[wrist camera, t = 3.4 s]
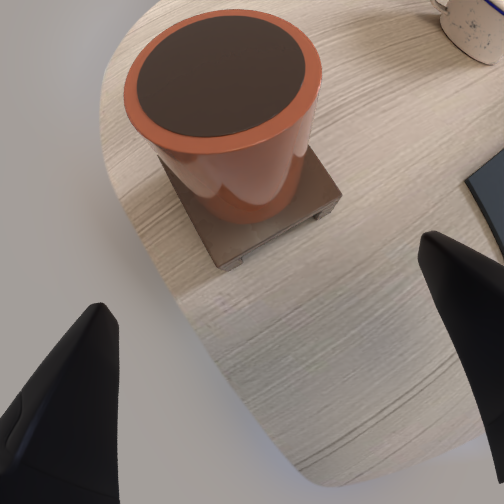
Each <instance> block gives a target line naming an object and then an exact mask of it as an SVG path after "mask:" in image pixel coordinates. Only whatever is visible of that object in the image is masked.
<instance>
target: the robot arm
mask: <svg viewBox="0 0 504 504" xmlns="http://www.w3.org/2000/svg"><path fill="white" fill-rule="evenodd" d="M418 263H419V266H420V268H421V270H422V273H423V275H424V278H425V280H426V283H427V285H428V288H429V290H430V293H431V295H432V298H433V300H434V303H435V305H436V308H437V310H438V312H439V314H440V316H441V318H442V321H443V323H444V325H445V327H446V329H447V331H448V333H449V336H450V338H451V340H452V342H453V344H454V347H455V349H456V351H457V354H458V356H459V358H460V361H461V363H462V366H463V368H464V371H465V373H466V376H467V378H468V381H469V383H470V386H471V389H472V392H473V394H474V397H475V400H476V403H477V406H478V409H479V412H480V415H481V418H482V421H483V424H484V427H485V431H486V435H487V438H488V442H489V445H490V449H491V452H492V457H493V461H494V465H495V469H496V473H497V478H498V481H499V484H501V483H503V482H504V266H503V265H501V264H499V263H497V262H496V261H494V260H492V259H490V258H488V257H486V256H485V255H483V254H481V253H479V252H477V251H475V250H473V249H471V248H470V247H468V246H466V245H464V244H462V243H460V242H458V241H456V240H454V239H452V238H450V237H448V236H446V235H444V234H442V233H440V232H438V231H429V232H425V233H423V234H422V236H421V240H420V246H419V252H418ZM118 393H119V325H118V322H117V320H116V319H115V317H114V316H113V314H112V313H111V312H110V310H109V309H108V307H107V306H106V305H105V304H104V303H101V302H100V303H95V304H91V305H90V306H89V307H88V308H87V309H86V310H85V311H84V312H83V314H82V315H81V316H80V317H79V318H78V319H77V320H76V322H75V323H74V324H73V325H72V326H71V327H70V329H69V330H68V331H67V332H66V333H65V335H64V336H63V337H62V338H61V340H60V341H59V342H58V343H57V344H56V346H55V347H54V348H53V349H52V351H51V352H50V353H49V354H48V356H47V357H46V358H45V359H44V361H43V362H42V363H41V364H40V366H39V367H38V368H37V370H36V371H35V372H34V374H33V375H32V376H31V377H30V379H29V380H28V382H27V383H26V384H25V385H24V387H23V388H22V390H21V391H20V392H19V394H18V395H17V396H16V398H15V399H14V401H13V402H12V403H11V405H10V406H9V407H8V409H7V410H6V411H5V413H4V414H3V415H2V417H1V418H0V504H120V500H119V485H118V462H117V461H118V459H117V419H118Z"/></svg>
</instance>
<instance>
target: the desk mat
mask: <svg viewBox="0 0 504 504" xmlns="http://www.w3.org/2000/svg"><path fill="white" fill-rule="evenodd" d="M465 182H466V184H467V186H468V187H469V189H470V191H471V192H472V194H473V196H474V198H475V199H476V201H477V203H478V205H479V207H480V208H481V210H482V212H483V214H484V216H485V218H486V220H487V222H488V224H489V226H490V228H491V230H492V232H493V234H494V236H495V238H496V240H497V242H498V245H499V247H500V249H501V251H502V254H503V256H504V149H503V150H502V151H500V152H499V153H498V154H497V155H496V156H494V157H493V158H492V159H491V160H490V161H488V162H487V163H486V164H485V165H483V166H482V167H481V168H480V169H479V170H477V171H476V172H475V173H474V174H472V175H471V176H470V177H469V178H467V179H466V180H465Z"/></svg>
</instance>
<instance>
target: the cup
mask: <svg viewBox="0 0 504 504" xmlns="http://www.w3.org/2000/svg"><path fill="white" fill-rule="evenodd" d="M321 80H322V66H321V61H320V57H319V55H318V52H317V50H316V48H315V47H314V45H313V43H312V42H311V41H310V40H309V38H308V37H307V36H306V35H305V34H304V33H303V32H302V31H301V30H299V29H298V28H297V27H295V26H294V25H292V24H291V23H289V22H287V21H285V20H283V19H281V18H279V17H276V16H274V15H271V14H267V13H263V12H259V11H253V10H242V9H230V10H219V11H213V12H208V13H203V14H200V15H196V16H193V17H191V18H188V19H185V20H183V21H181V22H179V23H177V24H175V25H173V26H171V27H170V28H168V29H166V30H165V31H163V32H162V33H161V34H159V35H158V36H156V37H155V38H154V39H153V40H152V41H151V42H150V43H148V44H147V46H146V47H145V48H144V49H143V50H142V51H141V52H140V54H139V55H138V56H137V58H136V59H135V61H134V62H133V64H132V66H131V68H130V70H129V72H128V75H127V78H126V82H125V86H124V106H125V109H126V113H127V116H128V118H129V120H130V122H131V123H132V125H133V126H134V127H135V129H136V130H137V131H138V132H139V134H140V135H141V136H142V137H143V138H144V139H145V140H146V142H147V143H148V144H149V145H150V146H151V147H152V149H153V150H154V151H155V152H156V153H157V154H158V155H159V157H160V158H161V159H162V160H163V161H164V162H165V164H166V165H167V166H168V167H169V168H170V169H171V170H172V172H173V173H174V174H175V175H176V176H177V177H178V178H179V180H180V181H181V182H182V183H183V184H184V185H185V187H186V188H187V189H188V190H189V191H190V192H191V193H192V195H193V196H194V197H195V198H196V199H197V200H198V201H199V203H200V204H201V205H202V206H203V207H204V208H205V209H206V210H207V211H208V212H209V213H211V214H212V215H214V216H215V217H217V218H219V219H221V220H224V221H227V222H231V223H236V224H251V223H257V222H261V221H264V220H266V219H269V218H271V217H273V216H274V215H276V214H278V213H279V212H280V211H282V210H283V209H284V208H285V207H286V206H287V205H288V204H289V202H290V201H291V200H292V198H293V197H294V195H295V193H296V191H297V188H298V186H299V182H300V177H301V173H302V169H303V164H304V160H305V156H306V151H307V147H308V142H309V138H310V133H311V128H312V124H313V119H314V115H315V110H316V105H317V100H318V96H319V91H320V86H321Z"/></svg>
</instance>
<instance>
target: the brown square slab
mask: <svg viewBox="0 0 504 504" xmlns="http://www.w3.org/2000/svg"><path fill="white" fill-rule="evenodd" d="M157 156H158V158H159V160H160V162H161V164H162V166H163V168H164V169H165V171H166V173H167V175H168V177H169V179H170V181H171V183H172V185H173V187H174V189H175V191H176V193H177V195H178V197H179V199H180V200H181V202H182V204H183V206H184V208H185V210H186V212H187V214H188V216H189V217H190V219H191V221H192V223H193V225H194V227H195V229H196V231H197V232H198V234H199V236H200V238H201V240H202V242H203V244H204V245H205V247H206V249H207V251H208V253H209V255H210V256H211V258H212V260H213V262H214V264H215V265H216V267H217V268H219V269H222V270H225V271H230V270H232V269H234V268H236V267H237V266H239V265H241V264H243V261H242V259H241V258H240V257H242V256H244V255H246V254H247V253H249V252H251V251H252V250H254V249H256V248H258V247H259V246H261V245H263V244H265V243H266V242H268V241H270V240H271V239H273V238H275V237H277V236H278V235H280V234H282V233H284V232H285V231H287V230H289V229H290V228H292V227H294V226H296V225H297V224H299V223H301V222H303V221H304V220H306V219H308V218H310V217H311V216H314V218H315V219H316V220H318V219H320V218H322V217H324V216H325V215H327V214H329V213H330V212H331V211H332V210H333V208H334V207H335V206H336V204H337V203H338V201H339V200H340V198H341V197H342V193H341V192H340V190H339V189H338V187H337V186H336V184H335V182H334V181H333V179H332V178H331V176H330V175H329V174H328V172H327V171H326V169H325V168H324V166H323V165H322V163H321V162H320V160H319V159H318V157H317V156H316V155H315V153H314V152H313V150H312V149H311V148H310V146H309V145H308V147H307V151H306V156H305V160H304V164H303V169H302V173H301V177H300V182H299V186H298V188H297V191H296V193H295V195H294V197H293V198H292V200H291V201H290V202H289V204H288V205H287V206H286V207H285V208H284V209H283V210H282V211H280V212H279V213H278V214H276V215H274V216H273V217H271V218H269V219H266V220H264V221H261V222H257V223H251V224H236V223H231V222H227V221H224V220H221V219H219V218H217V217H215V216H214V215H212V214H211V213H209V212H208V211H207V210H206V209H205V208H204V207H203V206H202V205H201V204H200V203H199V201H198V200H197V199H196V198H195V197H194V196H193V195H192V193H191V192H190V191H189V190H188V189H187V188H186V187H185V185H184V184H183V183H182V182H181V181H180V180H179V178H178V177H177V176H176V175H175V174H174V173H173V172H172V170H171V169H170V168H169V167H168V166H167V165H166V164H165V162H164V161H163V160H162V159H161V158H160V157H159V155H158V154H157Z"/></svg>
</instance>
